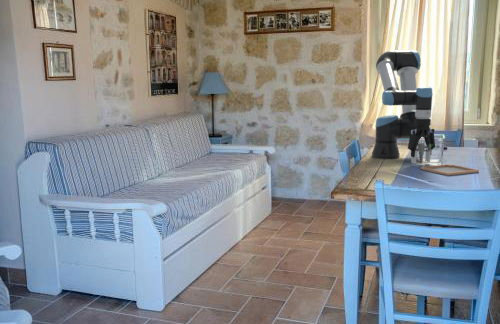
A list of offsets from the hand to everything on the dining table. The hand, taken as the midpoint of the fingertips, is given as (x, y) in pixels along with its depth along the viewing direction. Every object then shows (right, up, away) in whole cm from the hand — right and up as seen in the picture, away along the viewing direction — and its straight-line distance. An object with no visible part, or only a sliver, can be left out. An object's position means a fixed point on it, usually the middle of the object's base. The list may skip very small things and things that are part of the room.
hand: (420, 162), depth 246 cm
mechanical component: (0, 0, 0) cm, 1 cm away
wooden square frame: (+7, -4, -17) cm, 19 cm away
